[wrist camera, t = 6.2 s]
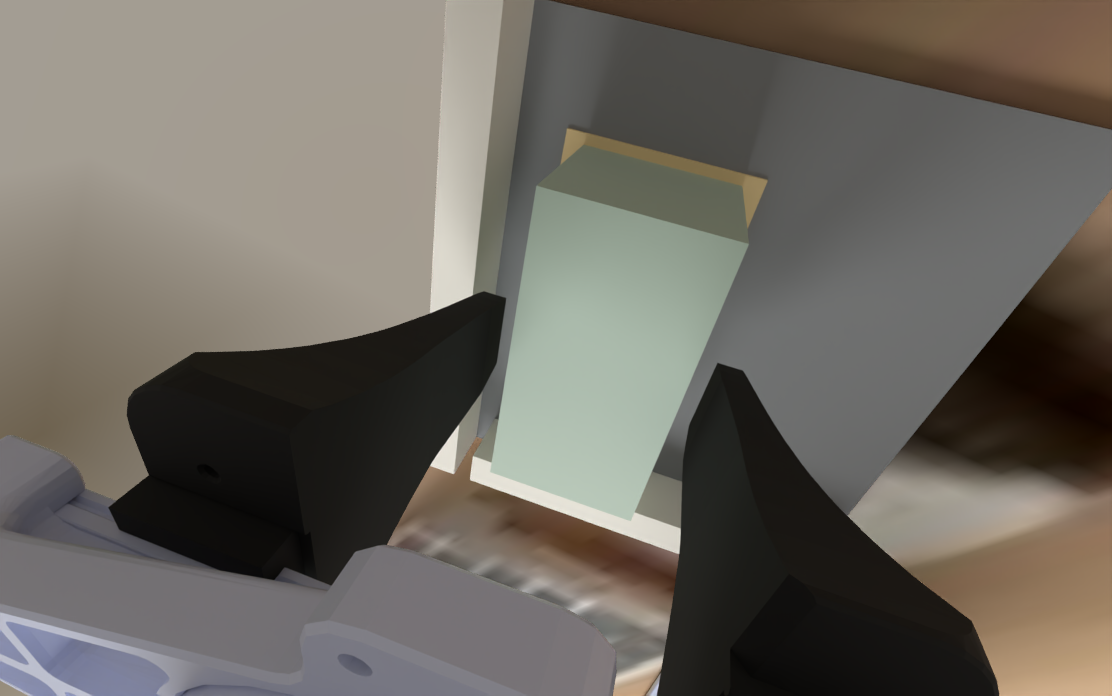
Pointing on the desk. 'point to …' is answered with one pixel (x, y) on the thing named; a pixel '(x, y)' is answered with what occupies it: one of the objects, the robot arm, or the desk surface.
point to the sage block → (612, 322)
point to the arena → (761, 221)
